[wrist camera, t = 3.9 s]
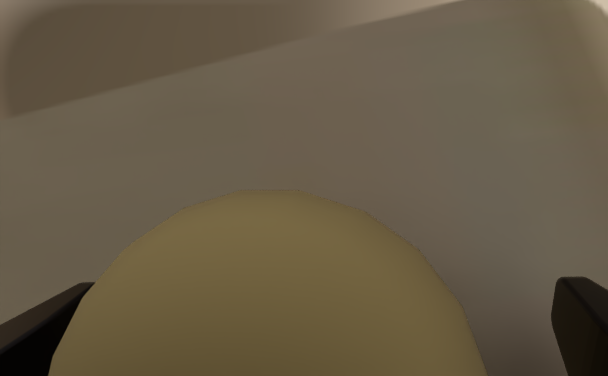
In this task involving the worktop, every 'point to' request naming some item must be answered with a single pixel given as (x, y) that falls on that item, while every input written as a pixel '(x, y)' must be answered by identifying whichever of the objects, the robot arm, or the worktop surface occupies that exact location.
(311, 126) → the worktop surface
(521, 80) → the worktop surface
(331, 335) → the cork
